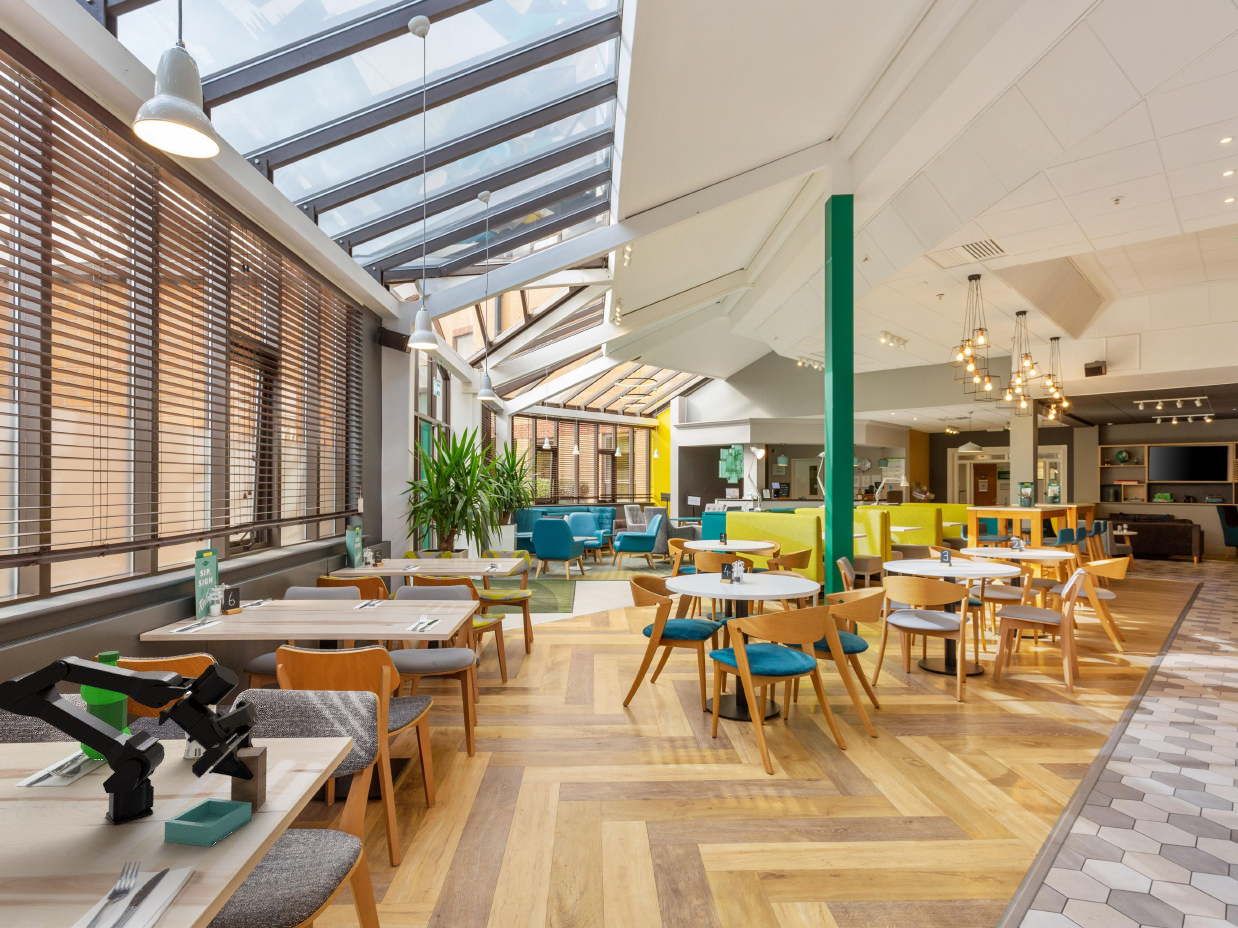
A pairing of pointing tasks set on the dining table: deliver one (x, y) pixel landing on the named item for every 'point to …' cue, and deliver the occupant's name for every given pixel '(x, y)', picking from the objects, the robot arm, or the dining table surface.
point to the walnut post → (257, 785)
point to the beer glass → (194, 748)
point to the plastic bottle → (105, 704)
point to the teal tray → (207, 822)
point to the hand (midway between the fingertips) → (256, 772)
